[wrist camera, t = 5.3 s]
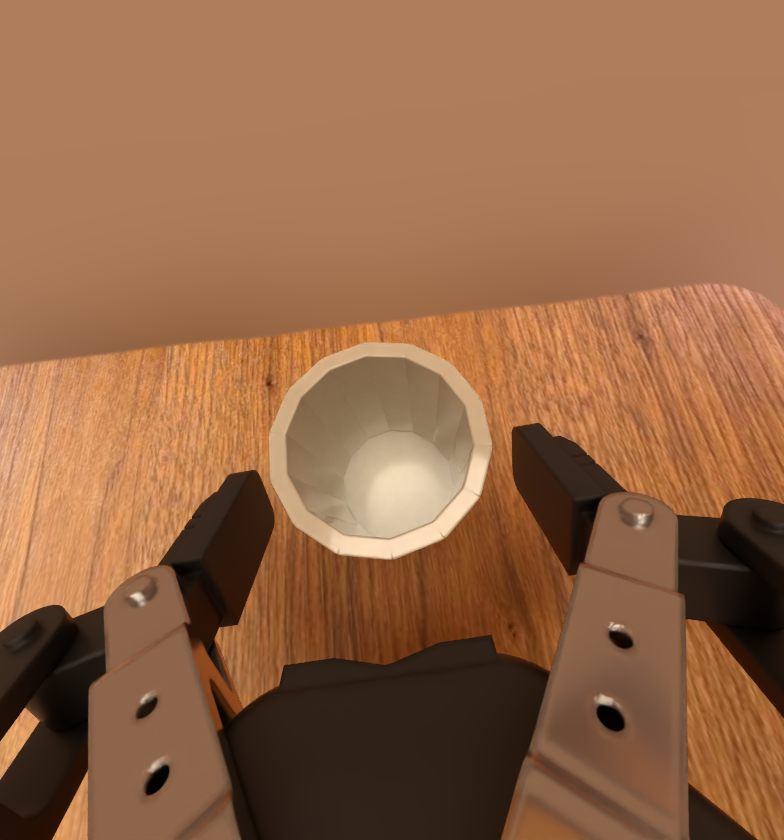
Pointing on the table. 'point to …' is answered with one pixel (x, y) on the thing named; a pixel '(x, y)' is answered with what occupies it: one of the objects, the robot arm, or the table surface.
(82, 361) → the table surface
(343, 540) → the cup
